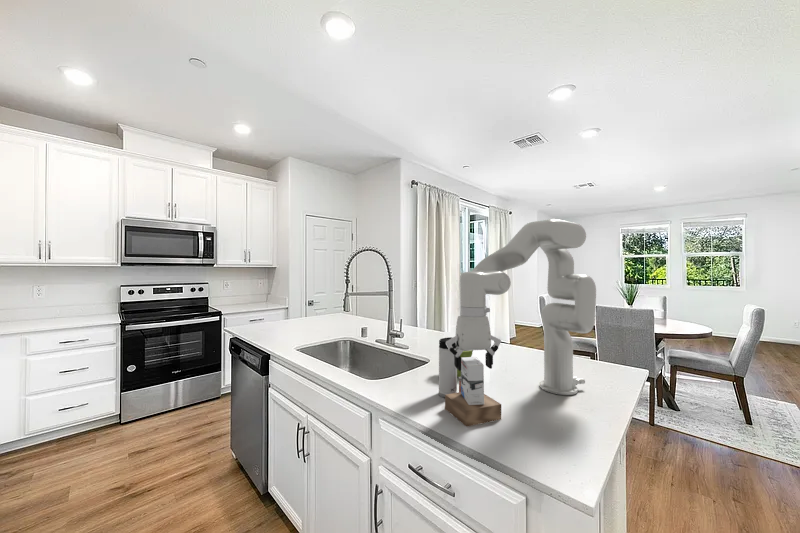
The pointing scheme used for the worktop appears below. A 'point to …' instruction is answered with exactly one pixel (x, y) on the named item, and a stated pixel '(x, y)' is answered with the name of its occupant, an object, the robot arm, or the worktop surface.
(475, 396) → the ink box
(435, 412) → the worktop surface
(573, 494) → the worktop surface
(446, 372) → the travel mug
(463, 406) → the walnut block
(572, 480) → the worktop surface
